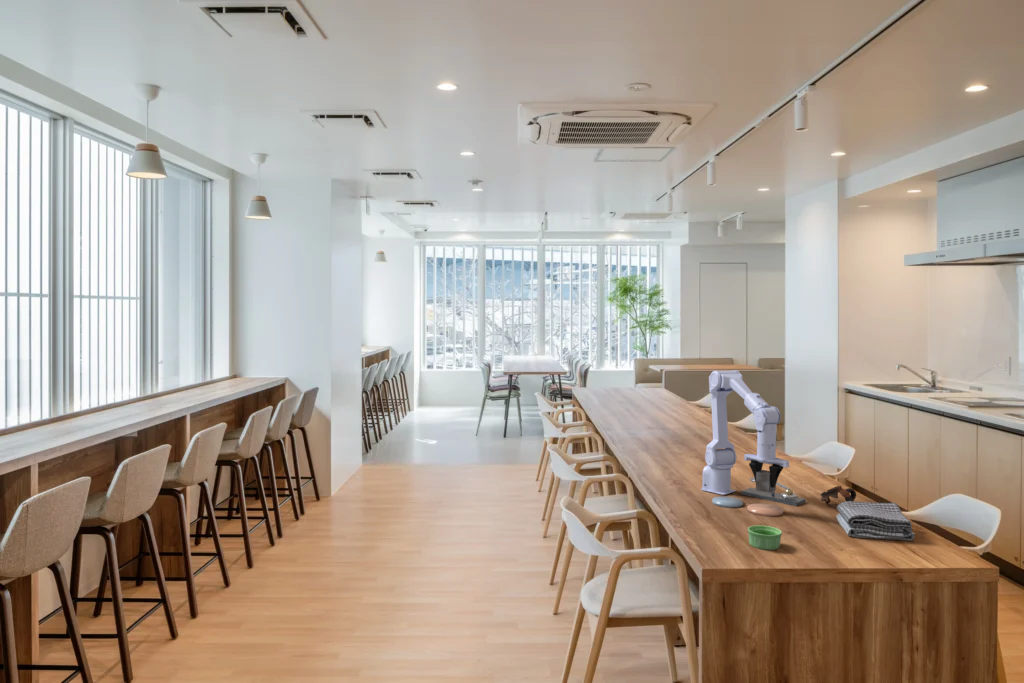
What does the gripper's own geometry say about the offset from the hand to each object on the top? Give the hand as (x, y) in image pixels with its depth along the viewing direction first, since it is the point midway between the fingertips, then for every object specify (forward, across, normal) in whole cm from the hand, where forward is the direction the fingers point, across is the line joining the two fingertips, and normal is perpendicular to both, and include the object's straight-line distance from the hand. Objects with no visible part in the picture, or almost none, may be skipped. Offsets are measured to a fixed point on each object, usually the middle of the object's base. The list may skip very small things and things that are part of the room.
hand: (765, 485), depth 228 cm
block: (+2, 0, 0) cm, 2 cm away
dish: (+8, 0, 0) cm, 9 cm away
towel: (+9, +32, +4) cm, 34 cm away
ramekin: (+9, +16, -31) cm, 36 cm away
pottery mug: (+9, +14, +24) cm, 29 cm away
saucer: (+8, -13, -1) cm, 15 cm away
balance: (+8, -6, +17) cm, 20 cm away
